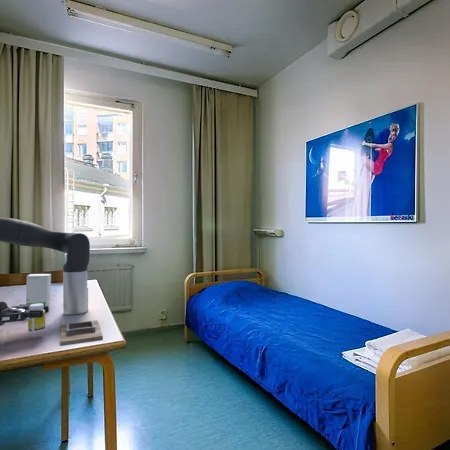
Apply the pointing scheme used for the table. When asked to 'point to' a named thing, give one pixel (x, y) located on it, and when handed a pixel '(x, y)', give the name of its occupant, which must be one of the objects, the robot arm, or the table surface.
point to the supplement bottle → (36, 319)
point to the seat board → (80, 332)
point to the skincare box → (38, 289)
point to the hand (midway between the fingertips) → (45, 311)
